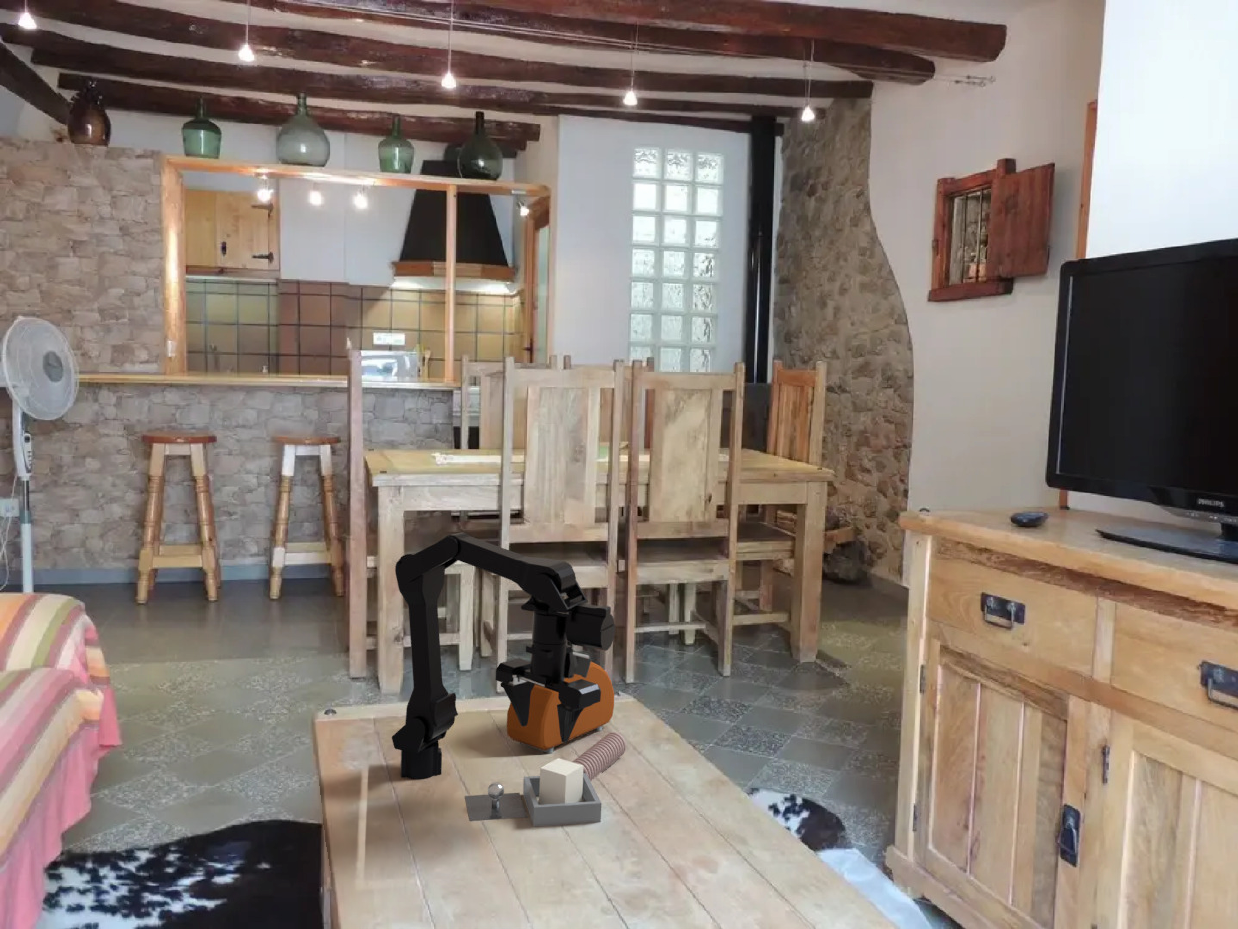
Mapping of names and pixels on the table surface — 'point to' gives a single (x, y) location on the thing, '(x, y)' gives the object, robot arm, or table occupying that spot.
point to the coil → (602, 754)
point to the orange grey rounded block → (544, 713)
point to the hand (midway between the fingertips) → (544, 733)
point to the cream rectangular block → (561, 782)
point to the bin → (561, 805)
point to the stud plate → (495, 805)
